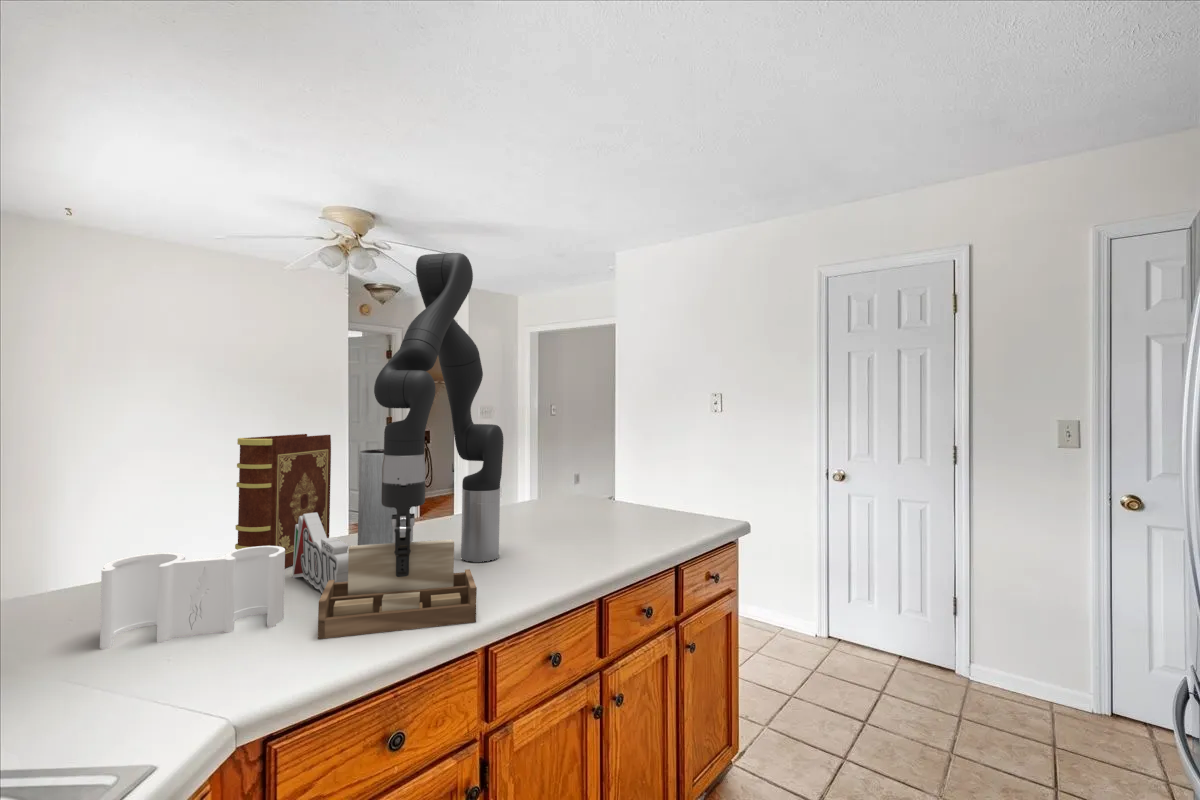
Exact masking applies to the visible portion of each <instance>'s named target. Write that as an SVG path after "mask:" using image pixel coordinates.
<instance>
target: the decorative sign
mask: <svg viewBox="0 0 1200 800" xmlns="http://www.w3.org/2000/svg"><path fill="white" fill-rule="evenodd" d="M348 551H349V545H348V543H346V542H344V541H342V540H340V539H339V538H338V537H336V536H333V537H329V538H327V536H326V534H325V531H324V528H323V526H322V523H321V521H320V518H319V516H318V513H317V512H316V513H307V514H303V516H299V522H298V524H296V525H295V539H294V558H293V565H292V575H291V576H292V577H293V579H295V578H304V580H306V581H307V580H308V583H309V584H310V585H313V587H314V588H315V589H316V590H319V591H320V593H321V594H322V593H323V591H324V589H325V587H326V585H327V583H328V581H329V580H335V582H347V581H348V556H349V552H348Z"/></svg>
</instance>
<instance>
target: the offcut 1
mask: <svg viewBox="0 0 1200 800" xmlns="http://www.w3.org/2000/svg"><path fill="white" fill-rule="evenodd" d="M373 605H374V598H364V599H353V600H342V601H335V604H334V607H333V617H337V616H347V615H358V614H368V613H373Z"/></svg>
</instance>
